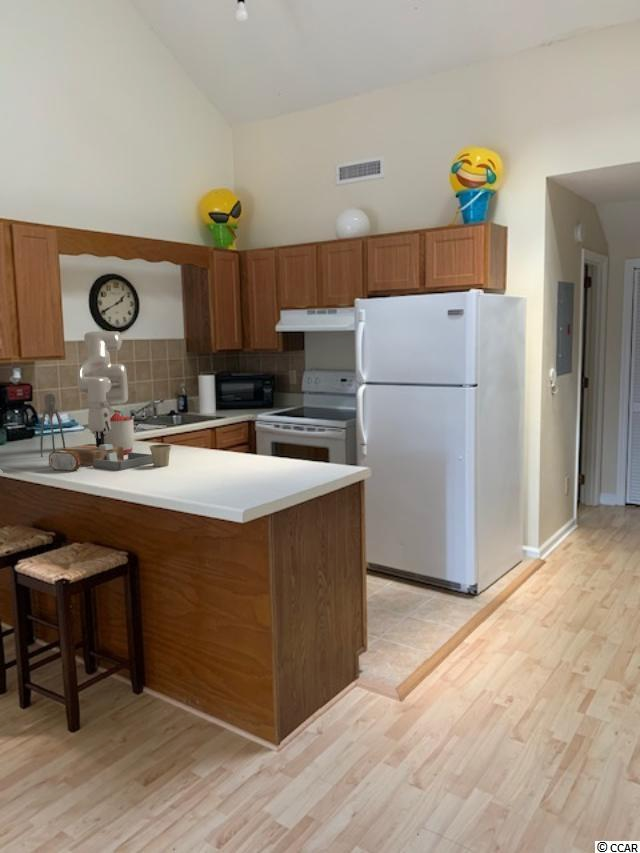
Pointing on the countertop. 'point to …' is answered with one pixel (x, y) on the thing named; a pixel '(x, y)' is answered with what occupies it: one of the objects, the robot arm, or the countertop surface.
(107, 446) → the tile
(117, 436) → the citrus juicer
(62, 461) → the tin
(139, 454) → the tray
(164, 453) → the flower pot
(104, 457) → the board
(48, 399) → the juicer
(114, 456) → the tile
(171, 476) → the countertop surface
